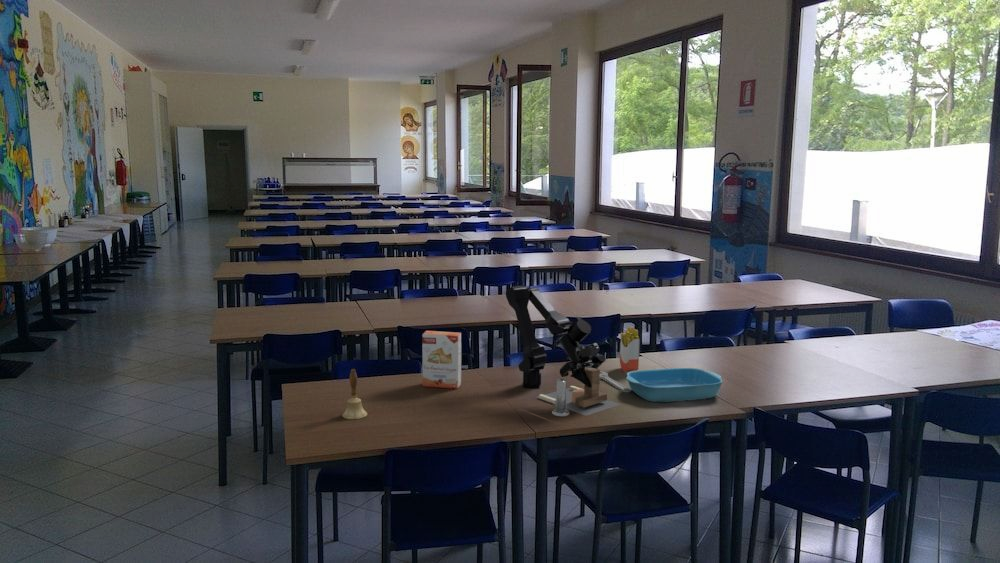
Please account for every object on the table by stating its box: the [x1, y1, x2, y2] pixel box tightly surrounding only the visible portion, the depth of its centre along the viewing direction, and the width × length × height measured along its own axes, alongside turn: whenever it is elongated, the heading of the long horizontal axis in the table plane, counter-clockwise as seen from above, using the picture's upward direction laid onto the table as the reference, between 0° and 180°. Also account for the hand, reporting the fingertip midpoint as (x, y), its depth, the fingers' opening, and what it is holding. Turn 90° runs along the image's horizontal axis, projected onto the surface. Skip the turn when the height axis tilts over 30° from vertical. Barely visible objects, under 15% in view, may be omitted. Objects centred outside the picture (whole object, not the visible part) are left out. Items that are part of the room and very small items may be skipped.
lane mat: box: [535, 385, 622, 417], centre depth 260 cm, size 25×18×2 cm
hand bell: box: [342, 368, 368, 420], centre depth 244 cm, size 8×8×16 cm
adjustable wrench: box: [599, 370, 631, 394], centre depth 282 cm, size 25×6×2 cm, turn 16°
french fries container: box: [619, 326, 641, 374], centre depth 298 cm, size 5×11×18 cm, turn 10°
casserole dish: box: [626, 367, 723, 403], centre depth 270 cm, size 37×22×7 cm, turn 105°
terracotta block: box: [572, 388, 584, 403], centre depth 258 cm, size 5×5×4 cm
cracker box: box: [421, 330, 462, 390], centre depth 276 cm, size 14×6×21 cm, turn 80°
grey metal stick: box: [551, 378, 570, 417], centre depth 246 cm, size 6×6×12 cm
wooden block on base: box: [575, 368, 608, 408], centre depth 254 cm, size 4×12×12 cm, turn 130°
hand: (594, 386), depth 253 cm, fingers closed on wooden block on base, 4 cm apart
